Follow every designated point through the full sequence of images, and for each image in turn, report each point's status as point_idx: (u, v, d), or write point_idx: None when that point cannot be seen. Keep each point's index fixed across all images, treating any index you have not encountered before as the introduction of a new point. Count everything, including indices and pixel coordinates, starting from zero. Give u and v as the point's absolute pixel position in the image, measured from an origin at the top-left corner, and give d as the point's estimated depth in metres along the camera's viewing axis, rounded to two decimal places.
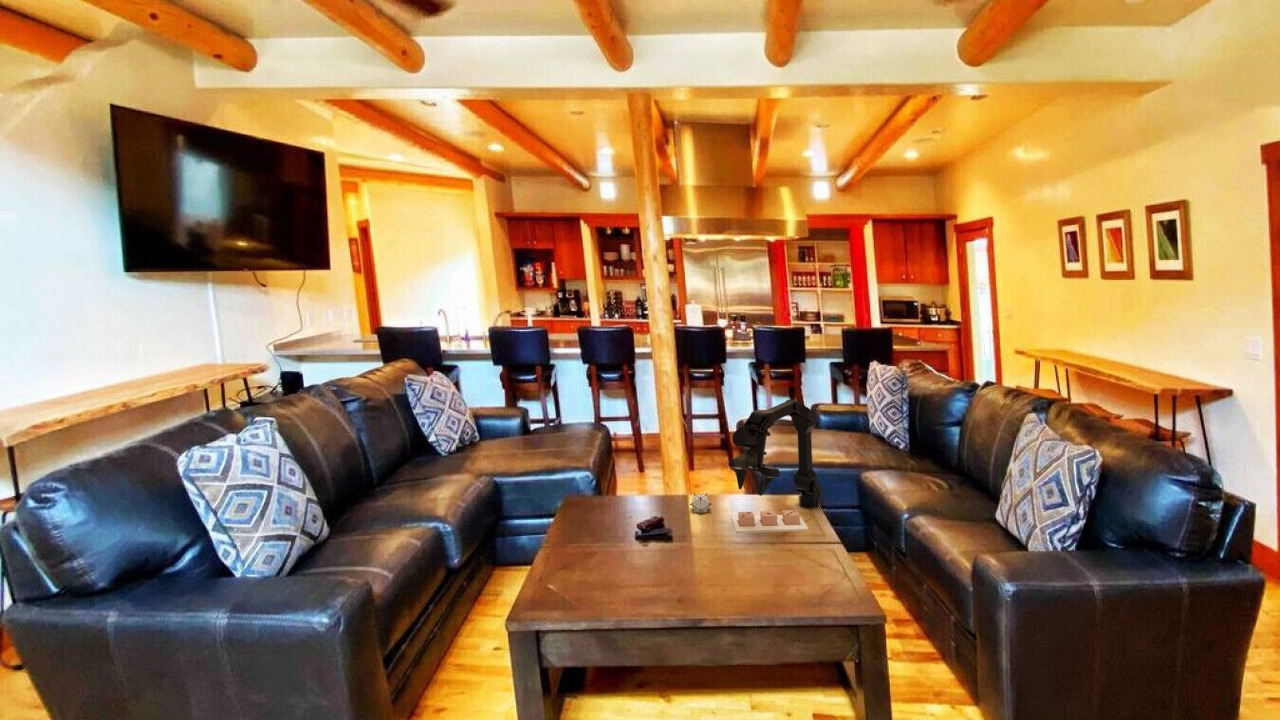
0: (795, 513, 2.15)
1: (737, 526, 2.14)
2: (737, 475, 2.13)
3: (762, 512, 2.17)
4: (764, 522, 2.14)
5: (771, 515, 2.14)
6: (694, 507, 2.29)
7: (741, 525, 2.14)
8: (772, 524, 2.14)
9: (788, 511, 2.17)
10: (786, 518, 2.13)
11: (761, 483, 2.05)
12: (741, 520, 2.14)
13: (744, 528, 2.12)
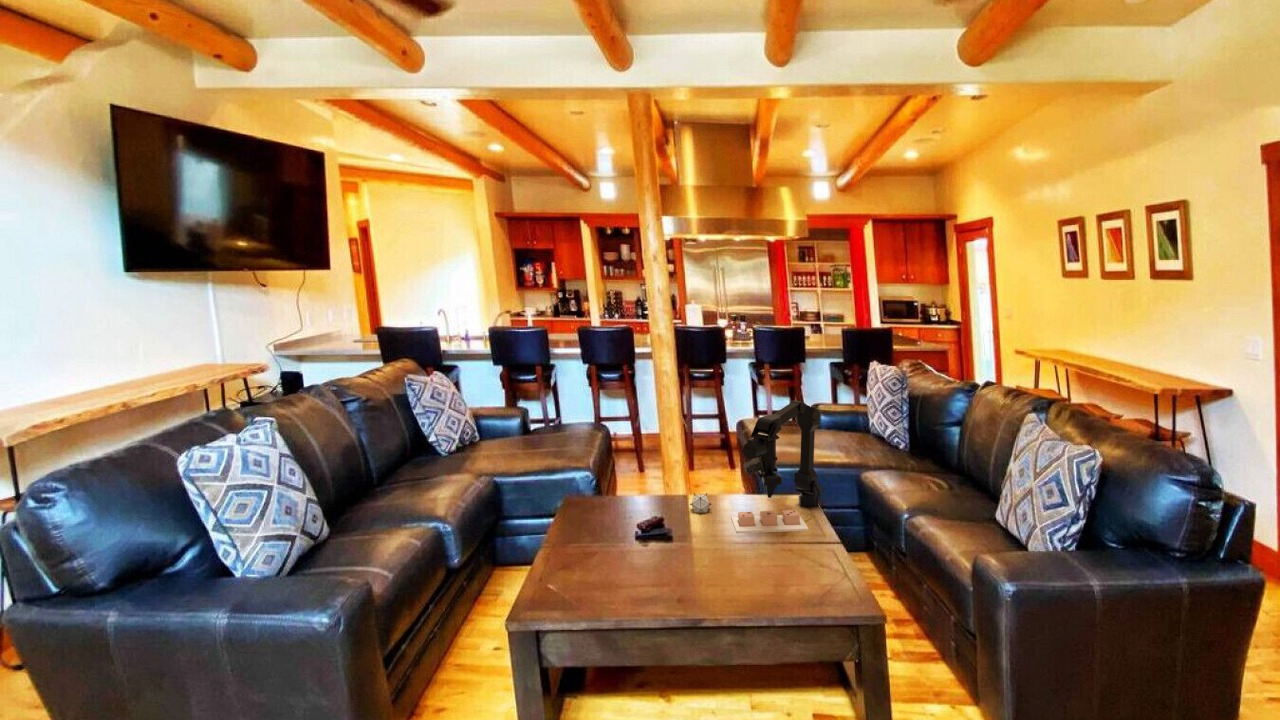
0: (795, 513, 2.15)
1: (737, 526, 2.14)
2: None
3: (762, 512, 2.17)
4: (764, 522, 2.14)
5: (771, 515, 2.14)
6: (694, 507, 2.29)
7: (741, 525, 2.14)
8: (772, 524, 2.14)
9: (788, 511, 2.17)
10: (786, 518, 2.13)
11: (766, 486, 2.12)
12: (741, 520, 2.14)
13: (744, 528, 2.12)
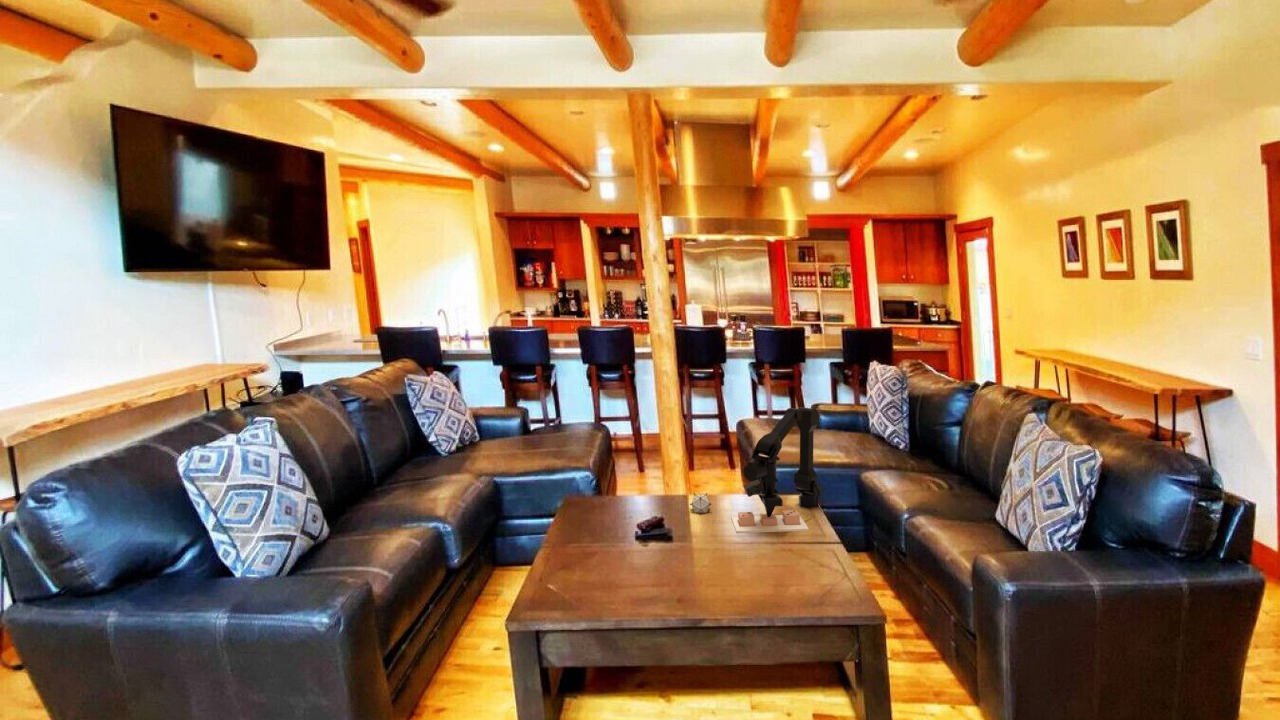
0: (795, 513, 2.15)
1: (737, 526, 2.14)
2: None
3: (762, 515, 2.17)
4: (764, 525, 2.14)
5: (771, 518, 2.14)
6: (694, 507, 2.29)
7: (741, 525, 2.14)
8: None
9: (788, 511, 2.17)
10: (786, 518, 2.13)
11: (765, 505, 2.15)
12: (741, 520, 2.14)
13: (744, 528, 2.12)
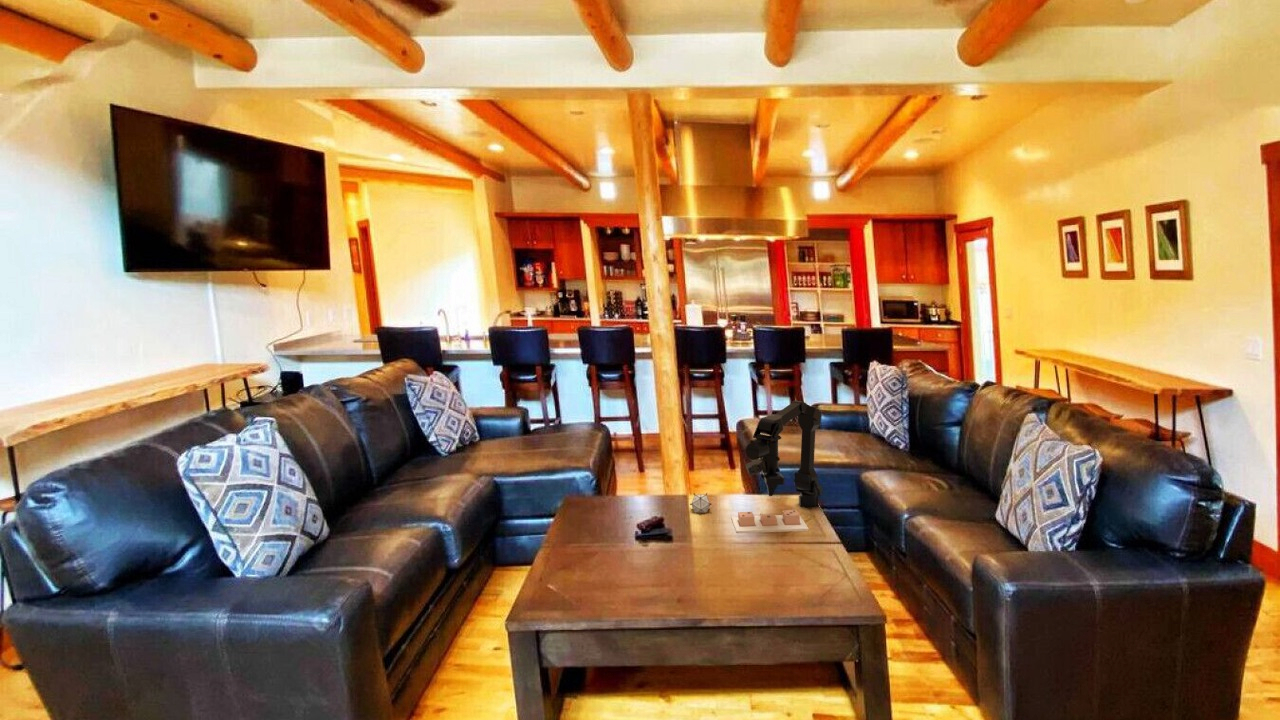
0: (795, 513, 2.15)
1: (737, 526, 2.14)
2: None
3: (762, 515, 2.17)
4: (764, 525, 2.14)
5: (771, 518, 2.14)
6: (694, 507, 2.29)
7: (741, 525, 2.14)
8: None
9: (788, 511, 2.17)
10: (786, 518, 2.13)
11: (767, 484, 2.14)
12: (741, 520, 2.14)
13: (744, 528, 2.12)
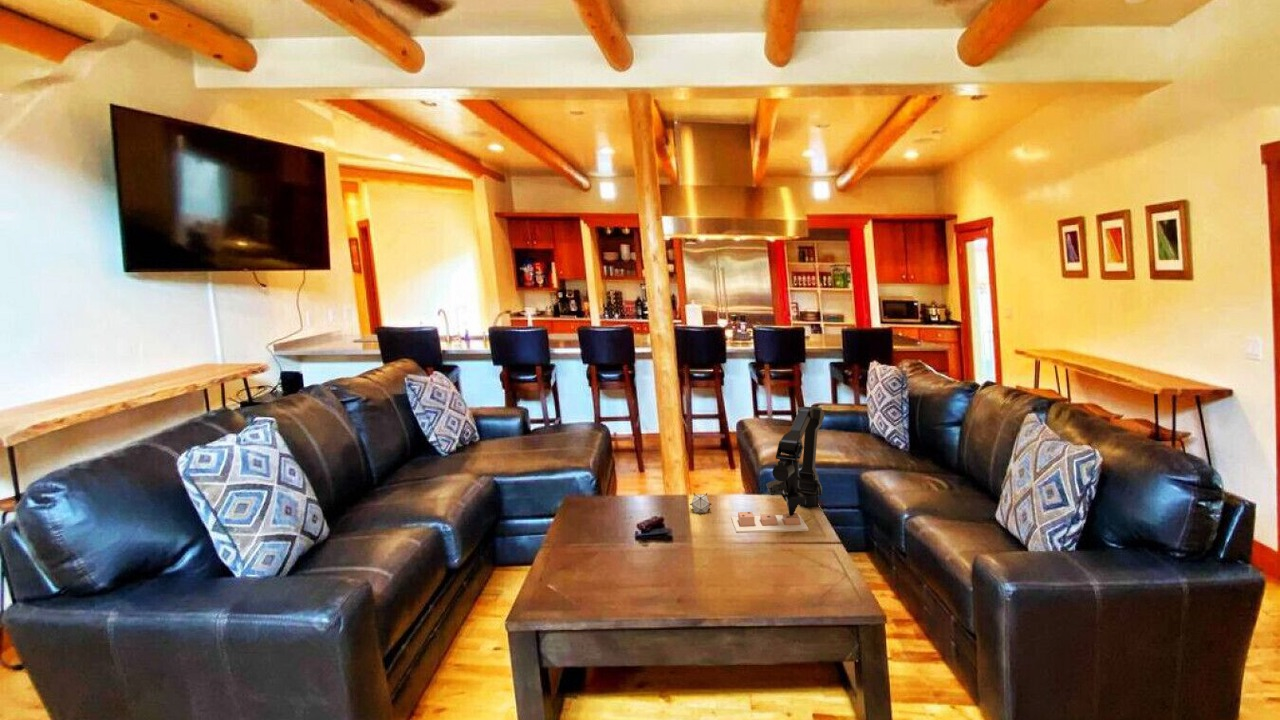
0: (795, 516, 2.15)
1: (737, 526, 2.14)
2: (786, 501, 2.16)
3: (762, 515, 2.17)
4: (764, 525, 2.14)
5: (771, 518, 2.14)
6: (694, 507, 2.29)
7: (741, 525, 2.14)
8: None
9: (788, 514, 2.17)
10: (786, 521, 2.14)
11: (788, 504, 2.15)
12: (741, 520, 2.14)
13: (744, 528, 2.12)
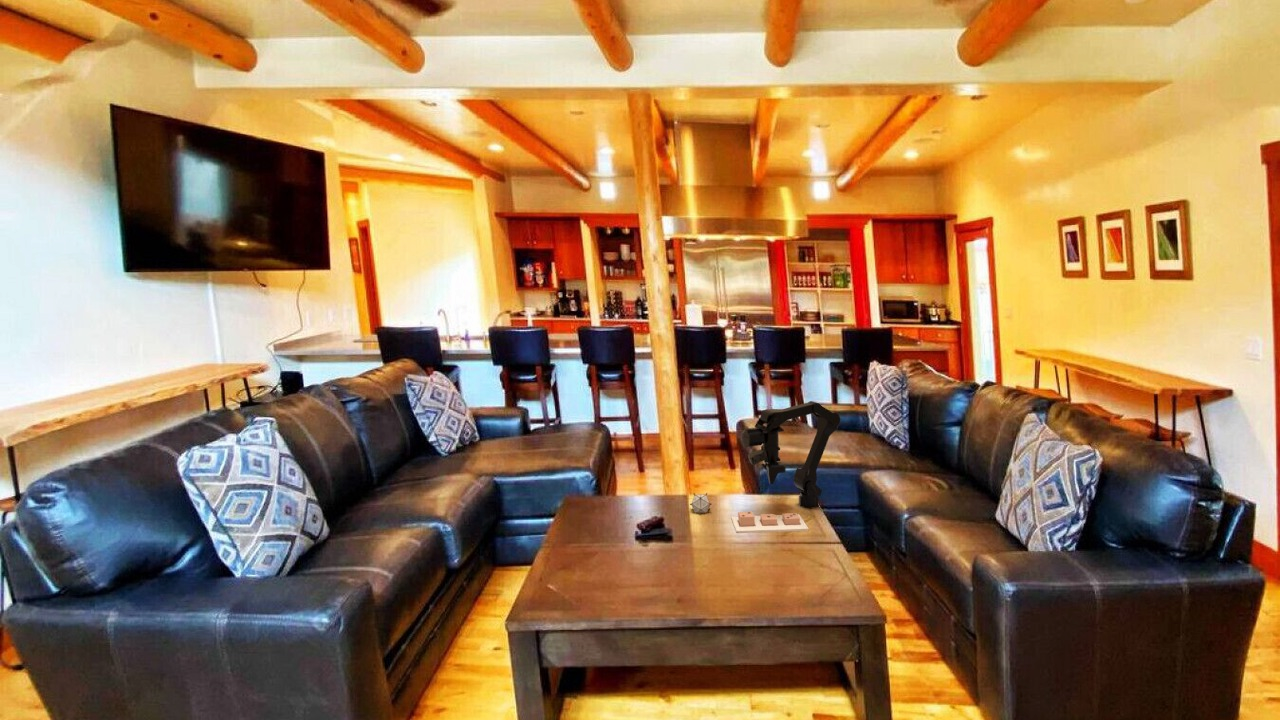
0: (795, 516, 2.15)
1: (737, 526, 2.14)
2: None
3: (762, 515, 2.17)
4: (764, 525, 2.14)
5: (771, 518, 2.14)
6: (694, 507, 2.29)
7: (741, 525, 2.14)
8: None
9: (788, 514, 2.17)
10: (786, 521, 2.14)
11: (768, 473, 2.26)
12: (741, 520, 2.14)
13: (744, 528, 2.12)
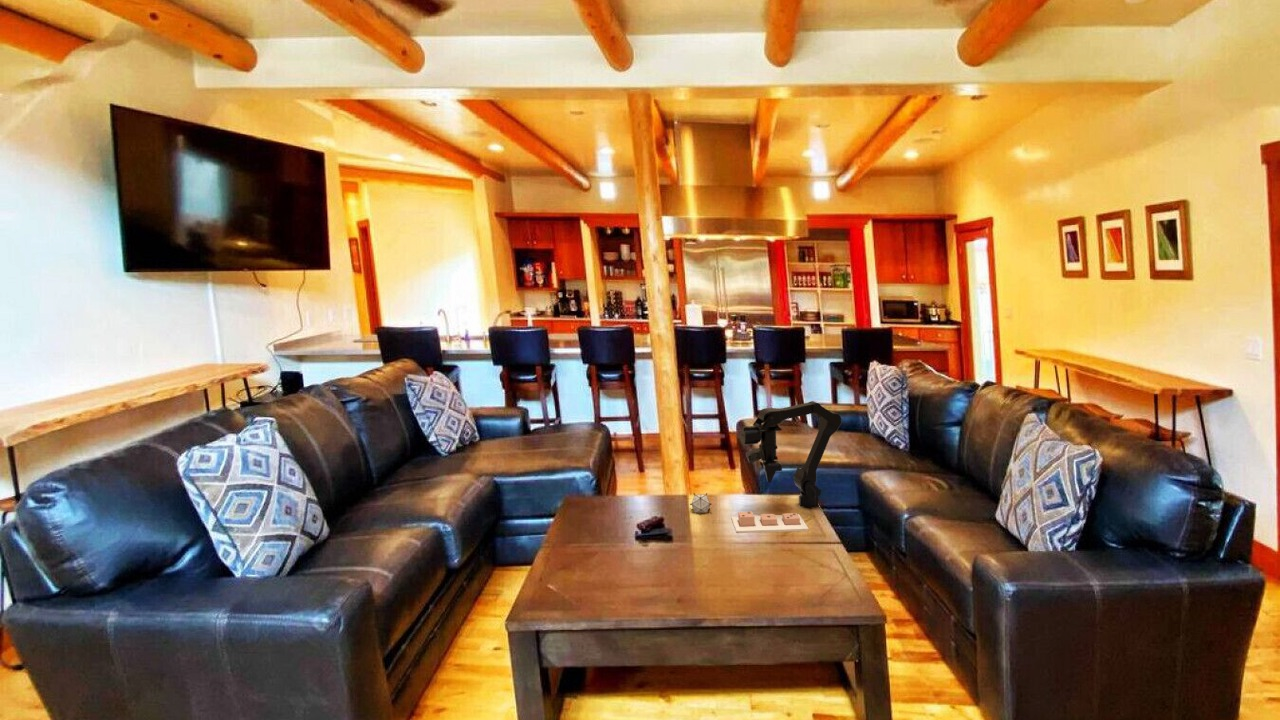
0: (795, 516, 2.15)
1: (737, 526, 2.14)
2: None
3: (762, 515, 2.17)
4: (764, 525, 2.14)
5: (771, 518, 2.14)
6: (694, 507, 2.29)
7: (741, 525, 2.14)
8: None
9: (788, 514, 2.17)
10: (786, 521, 2.14)
11: (766, 472, 2.28)
12: (741, 520, 2.14)
13: (744, 528, 2.12)
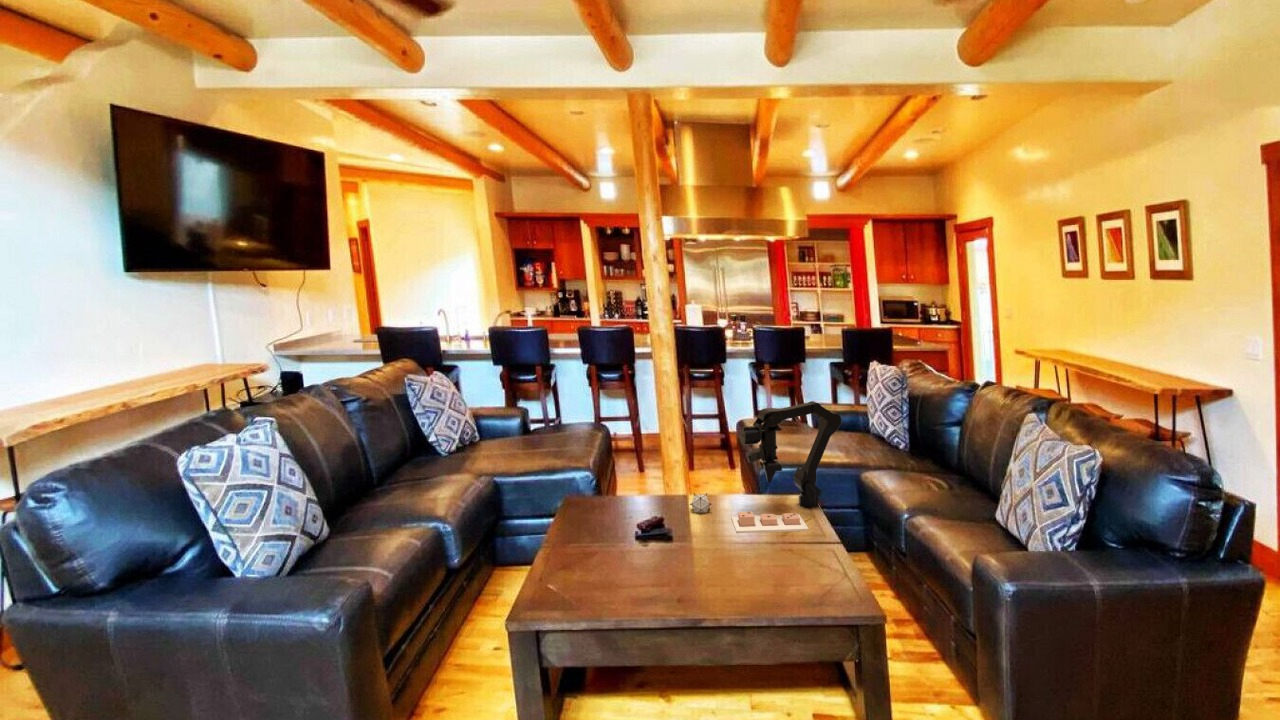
0: (795, 516, 2.15)
1: (737, 526, 2.14)
2: None
3: (762, 515, 2.17)
4: (764, 525, 2.14)
5: (771, 518, 2.14)
6: (694, 507, 2.29)
7: (741, 525, 2.14)
8: None
9: (788, 514, 2.17)
10: (786, 521, 2.14)
11: (766, 472, 2.28)
12: (741, 520, 2.14)
13: (744, 528, 2.12)
